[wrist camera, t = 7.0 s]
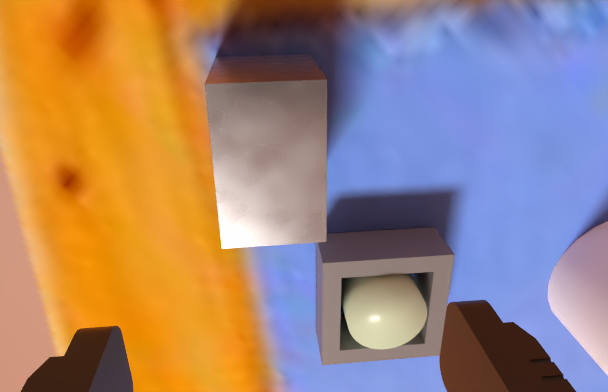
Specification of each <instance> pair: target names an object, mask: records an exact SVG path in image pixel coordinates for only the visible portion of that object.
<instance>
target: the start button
mask: <svg viewBox="0 0 608 392" xmlns="http://www.w3.org/2000/svg"><path fill="white" fill-rule="evenodd" d="M341 303H342V307H343V310H344V314H345V318H346V321H347V325H348V329H349V332H350V334H351V335H352V337H353V338H354V339H355V340H356V341H357V342H358V343H360V344H361V345H363V346H365V347H368V348H372V349H391V348H395V347H398V346H401V345H403V344H405V343H407V342H409V341H410V340H411V339H413V338H414V337H415V336H416V335H417V334H418V333H419V332H420V331H421V329H422V328H423V326H424V324H425V321H426V318H427V307H426V303H425V301H424V299H423V297H422V295H421V293H420V291H419V290H418V288H417V286H416V284H415V282H414V280H413V278H412V276H411V274H410V273H408V274H393V275H378V276H364V277H349V278H342V280H341Z"/></svg>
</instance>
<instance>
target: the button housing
mask: <svg viewBox="0 0 608 392" xmlns="http://www.w3.org/2000/svg"><path fill="white" fill-rule="evenodd" d="M453 261H454V253H453V252H452V251H451V249H450V248H449V246H448V245H447V243H446V242H445V241H444V239H443V238H442V236H441V235H440V233H439V232H438V231H437V229H436V228H435V227H426V228H410V229H393V230H377V231H360V232H343V233H327V234H326V242H317V243H316V333H317V339H318V344H319V350H320V356H321V361H322V365H330V364H342V363H354V362H366V361H378V360H390V359H402V358H414V357H426V356H438V355H440V350H441V344H442V337H443V330H444V323H445V316H446V309H447V302H448V295H449V288H450V282H451V275H452V268H453ZM408 273H413V280H414V282H415V284H416V286H417V288H418V290H419V291H420V293H421V295H422V297H423V299H424V301H425V303H426V307H427V318H426V321H425V324H424V326H423V328H422V329H421V331H420V332H419V333H418V334H417V335H416V336H415V337H414V338H413V339H411V340H410V341H409V342H407V343H405V344H403V345H401V346H398V347H395V348H391V349H372V348H368V347H365V346H363V345H361V344H360V343H358V342H357V341H356V340H355V339H354V338H353V337H352V335H351V334H350V332H349V329H348V325H347V321H346V318H345V315H342V316H341V280H342V278H349V277H364V276H378V275H393V274H408Z"/></svg>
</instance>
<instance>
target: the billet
mask: <svg viewBox="0 0 608 392" xmlns="http://www.w3.org/2000/svg"><path fill="white" fill-rule="evenodd" d="M205 92H206V101H207V111H208V120H209V130H210V140H211V149H212V159H213V168H214V178H215V188H216V197H217V207H218V216H219V226H220V236H221V245H222V249H224V248H239V247H255V246H270V245H286V244H301V243H317V242H326V232H327V78H326V77H325V75H324V74H323V72H322V71H321V69H320V68H319V67H318V65H317V64H316V62H315V61H314V59H313V58H312V56H311V55H310V54H289V55H258V56H227V57H215V60H214V62H213V65H212V67H211V70H210V72H209V75H208V77H207V80H206V82H205Z"/></svg>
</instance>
